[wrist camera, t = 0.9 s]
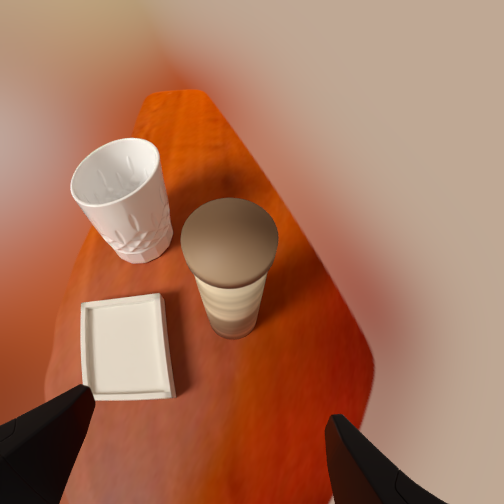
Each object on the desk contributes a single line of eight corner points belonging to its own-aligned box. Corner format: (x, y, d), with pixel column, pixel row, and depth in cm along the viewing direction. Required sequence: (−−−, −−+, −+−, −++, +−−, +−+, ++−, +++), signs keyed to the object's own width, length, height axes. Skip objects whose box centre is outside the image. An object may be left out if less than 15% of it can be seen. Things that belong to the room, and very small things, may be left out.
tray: (176, 397, 20) (171, 397, 19) (94, 400, 19) (84, 399, 18) (164, 300, 25) (159, 292, 23) (89, 309, 24) (81, 302, 22)
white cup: (109, 217, 29) (76, 153, 21) (173, 200, 31) (156, 128, 22) (111, 277, 26) (65, 218, 17) (185, 258, 27) (164, 189, 18)
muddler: (263, 336, 24) (289, 270, 12) (211, 345, 23) (184, 287, 12) (253, 288, 26) (266, 193, 15) (203, 296, 25) (178, 204, 14)
